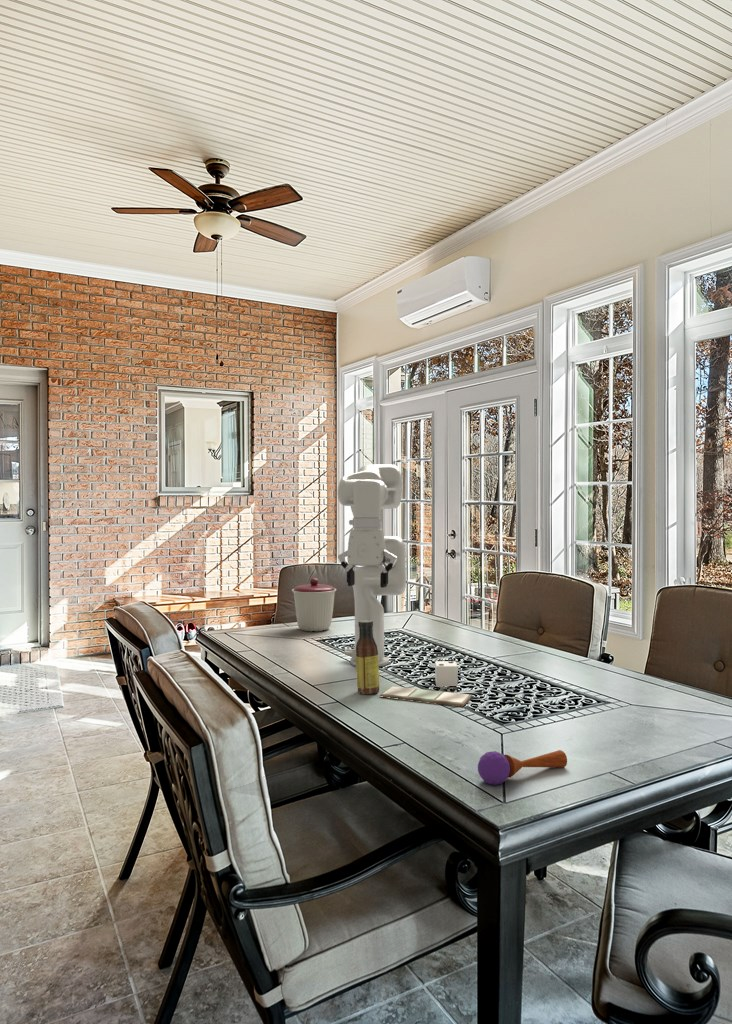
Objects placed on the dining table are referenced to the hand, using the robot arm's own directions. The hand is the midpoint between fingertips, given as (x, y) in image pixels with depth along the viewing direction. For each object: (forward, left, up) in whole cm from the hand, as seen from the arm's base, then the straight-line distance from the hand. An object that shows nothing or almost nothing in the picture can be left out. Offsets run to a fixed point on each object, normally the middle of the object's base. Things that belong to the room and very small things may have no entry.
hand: (367, 586), depth 191 cm
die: (+18, +16, -30) cm, 38 cm away
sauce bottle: (0, 0, -30) cm, 30 cm away
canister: (-55, +76, -30) cm, 98 cm away
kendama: (+50, -41, -30) cm, 71 cm away
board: (+16, +1, -30) cm, 34 cm away
